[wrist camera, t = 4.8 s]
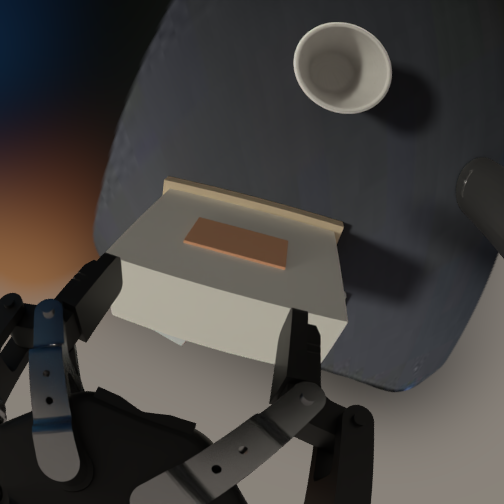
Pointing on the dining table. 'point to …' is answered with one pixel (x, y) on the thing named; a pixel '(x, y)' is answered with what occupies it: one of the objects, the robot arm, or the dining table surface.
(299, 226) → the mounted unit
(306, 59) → the dixie cup
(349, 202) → the dining table surface
